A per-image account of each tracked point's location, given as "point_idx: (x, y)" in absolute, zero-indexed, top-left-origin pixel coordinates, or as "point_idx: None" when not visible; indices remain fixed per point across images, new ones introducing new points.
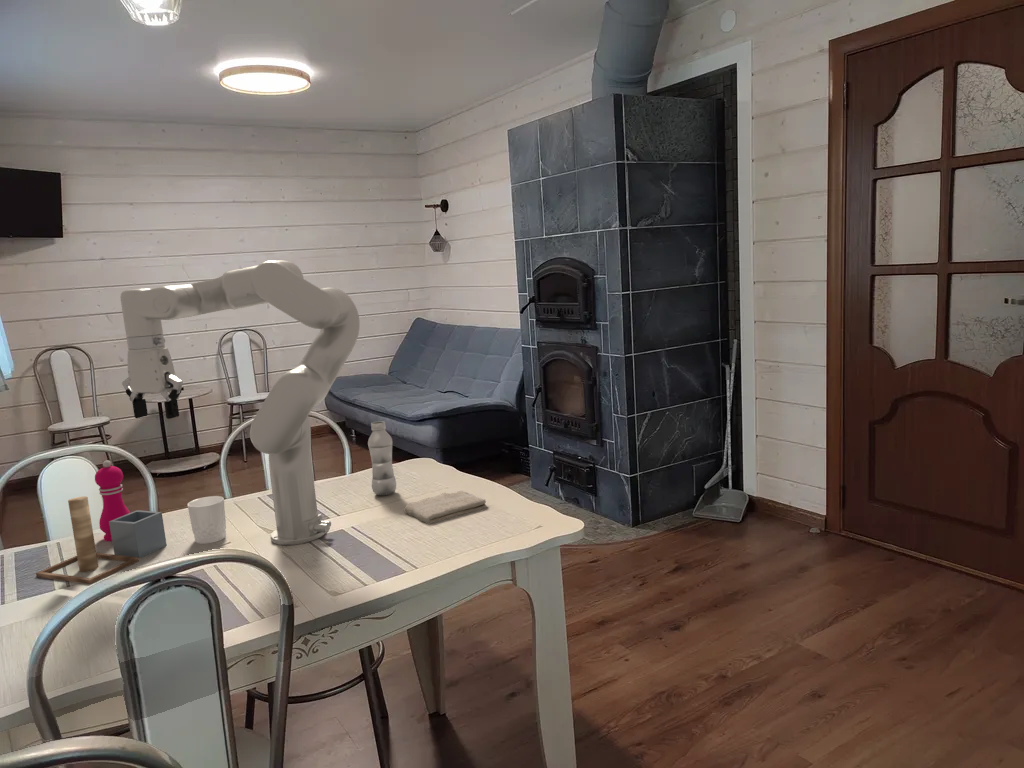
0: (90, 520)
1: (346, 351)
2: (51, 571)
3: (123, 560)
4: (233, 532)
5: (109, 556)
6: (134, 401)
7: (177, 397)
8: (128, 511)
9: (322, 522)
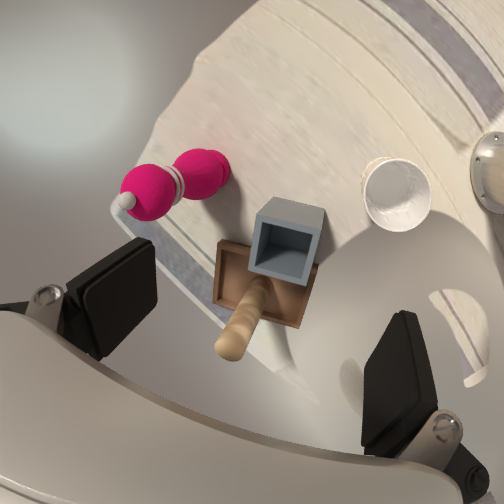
0: (253, 324)
1: None
2: (219, 289)
3: None
4: (398, 138)
5: None
6: (98, 359)
7: (452, 438)
8: (207, 167)
9: None
